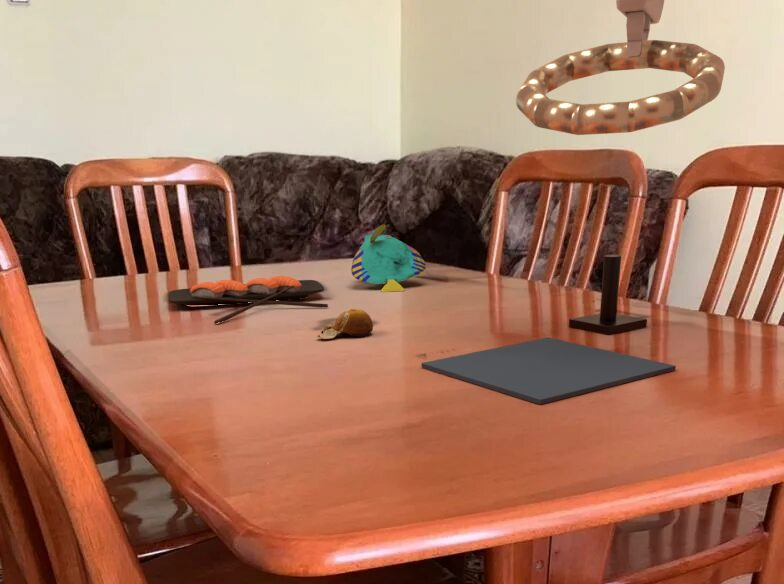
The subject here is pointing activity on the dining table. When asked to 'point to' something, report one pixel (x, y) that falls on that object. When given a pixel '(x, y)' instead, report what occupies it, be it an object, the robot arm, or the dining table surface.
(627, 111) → the ring
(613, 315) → the post
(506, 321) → the dining table surface
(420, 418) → the dining table surface
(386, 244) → the decorative fish
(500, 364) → the mat
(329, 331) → the fruit
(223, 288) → the sushi plate
